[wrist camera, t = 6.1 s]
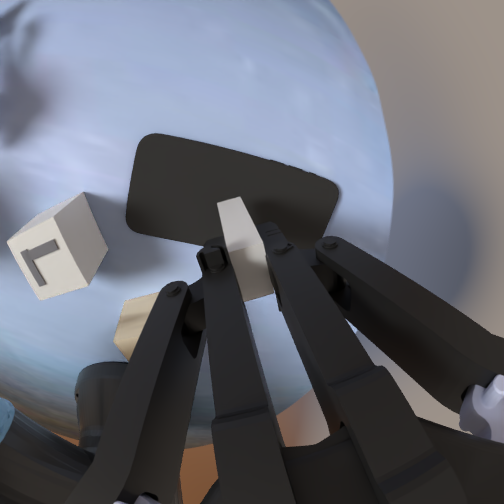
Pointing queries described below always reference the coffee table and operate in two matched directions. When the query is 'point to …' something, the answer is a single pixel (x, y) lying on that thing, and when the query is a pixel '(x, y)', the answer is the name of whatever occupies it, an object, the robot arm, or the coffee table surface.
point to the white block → (59, 248)
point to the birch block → (133, 322)
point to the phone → (221, 192)
